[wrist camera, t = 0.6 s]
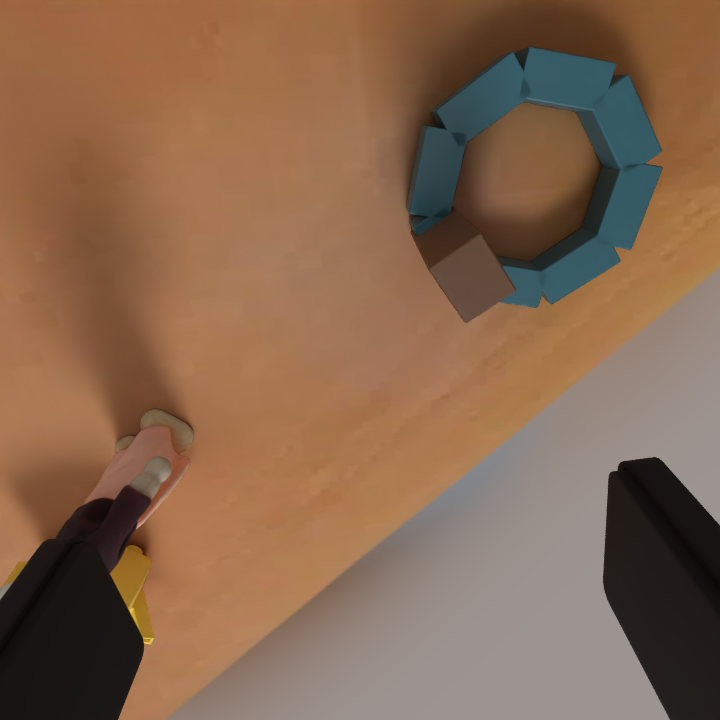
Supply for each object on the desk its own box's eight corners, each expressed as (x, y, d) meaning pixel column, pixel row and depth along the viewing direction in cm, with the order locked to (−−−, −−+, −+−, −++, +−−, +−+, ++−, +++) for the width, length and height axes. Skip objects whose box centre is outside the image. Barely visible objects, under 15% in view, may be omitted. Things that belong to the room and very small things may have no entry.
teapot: (194, 543, 29) (164, 623, 25) (163, 605, 32) (130, 690, 27) (54, 493, 28) (-7, 569, 23) (31, 563, 30) (-29, 645, 25)
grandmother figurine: (159, 502, 28) (23, 767, 17) (94, 468, 27) (-99, 725, 16) (231, 405, 26) (129, 639, 14) (162, 364, 25) (-9, 579, 13)
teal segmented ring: (574, -2, 18) (665, -51, 13) (670, 211, 22) (775, 241, 16) (363, 162, 21) (366, 178, 15) (477, 332, 24) (514, 395, 19)
